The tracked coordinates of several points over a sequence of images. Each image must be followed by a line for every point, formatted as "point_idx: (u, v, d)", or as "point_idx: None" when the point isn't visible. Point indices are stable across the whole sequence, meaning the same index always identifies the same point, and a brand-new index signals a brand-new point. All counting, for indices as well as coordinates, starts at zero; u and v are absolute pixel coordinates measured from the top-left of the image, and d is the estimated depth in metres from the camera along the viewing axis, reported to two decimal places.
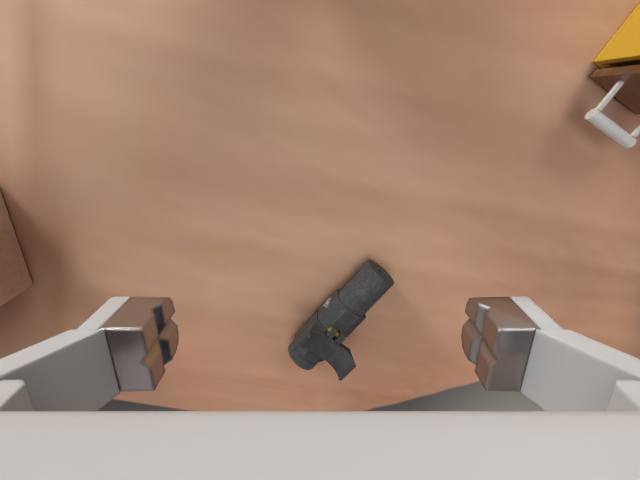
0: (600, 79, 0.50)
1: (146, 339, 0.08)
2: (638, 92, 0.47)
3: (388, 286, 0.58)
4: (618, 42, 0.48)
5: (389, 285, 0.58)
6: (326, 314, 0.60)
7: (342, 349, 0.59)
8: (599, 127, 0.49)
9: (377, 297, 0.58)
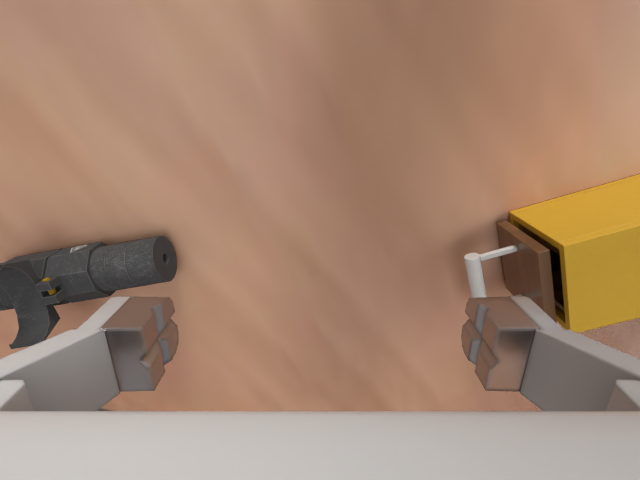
0: (502, 232, 0.43)
1: (146, 339, 0.08)
2: (521, 269, 0.41)
3: (157, 280, 0.42)
4: (539, 211, 0.42)
5: (159, 279, 0.42)
6: (60, 260, 0.42)
7: (46, 313, 0.41)
8: (469, 275, 0.41)
9: (136, 283, 0.42)
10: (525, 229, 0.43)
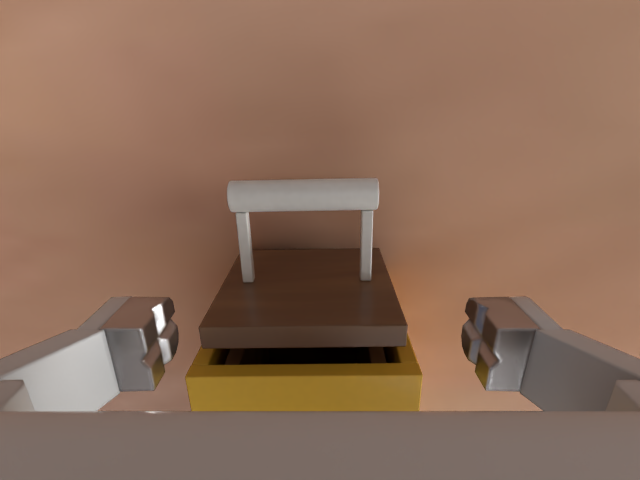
0: None
1: (146, 339, 0.08)
2: (318, 283, 0.20)
3: None
4: None
5: None
6: None
7: None
8: (335, 181, 0.18)
9: None
10: None
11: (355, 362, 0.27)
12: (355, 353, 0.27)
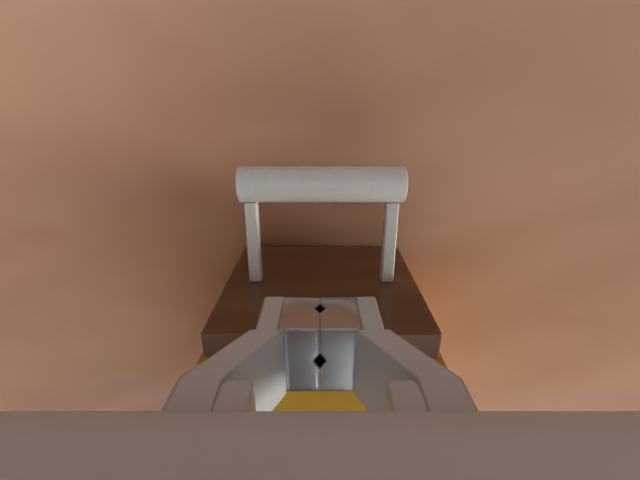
0: None
1: (320, 338, 0.08)
2: (335, 284, 0.18)
3: None
4: None
5: None
6: None
7: None
8: (358, 169, 0.16)
9: None
10: None
11: None
12: None
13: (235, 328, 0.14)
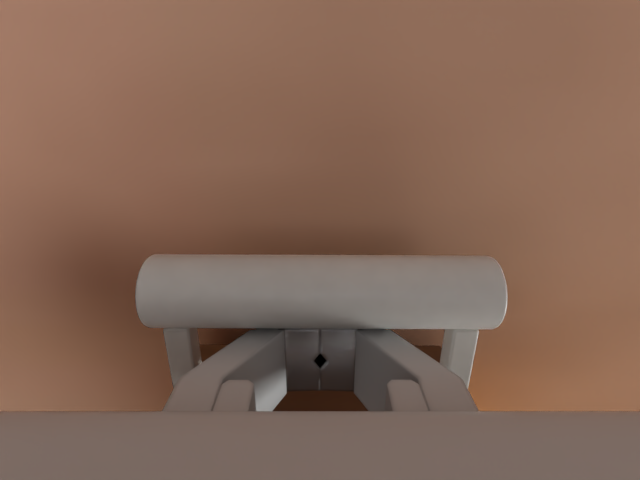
0: None
1: (320, 339, 0.08)
2: None
3: None
4: None
5: None
6: None
7: None
8: (400, 267, 0.08)
9: None
10: None
11: None
12: None
13: None
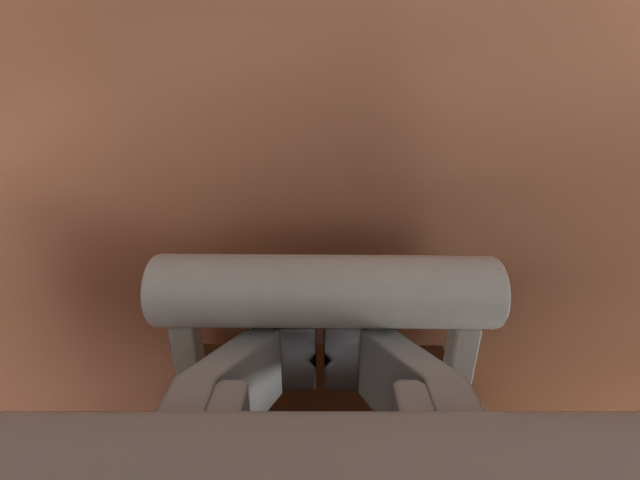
0: None
1: (315, 339, 0.08)
2: None
3: None
4: None
5: None
6: None
7: None
8: (404, 267, 0.08)
9: None
10: None
11: None
12: None
13: None
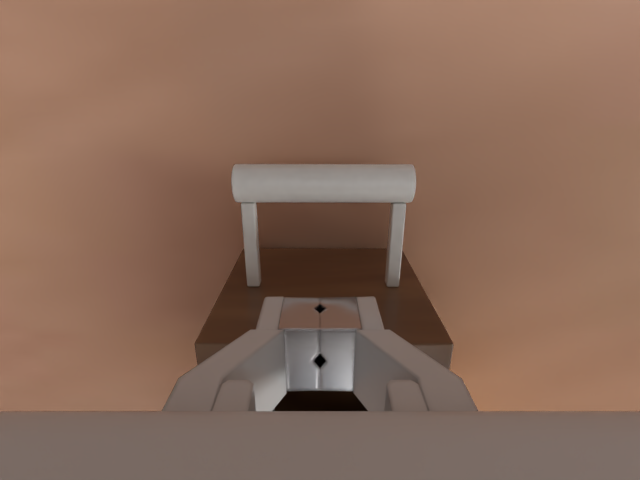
0: None
1: (320, 338, 0.08)
2: (337, 289, 0.17)
3: None
4: None
5: None
6: None
7: None
8: (363, 167, 0.15)
9: None
10: None
11: None
12: None
13: (231, 338, 0.13)
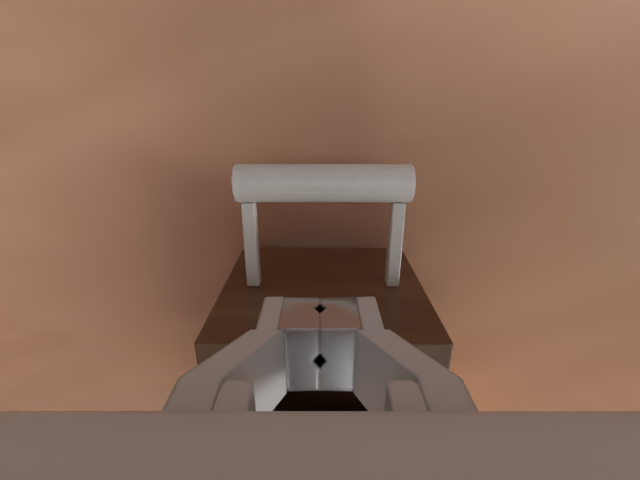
0: None
1: (320, 338, 0.08)
2: (337, 288, 0.17)
3: None
4: None
5: None
6: None
7: None
8: (363, 167, 0.15)
9: None
10: None
11: None
12: None
13: (231, 337, 0.13)
